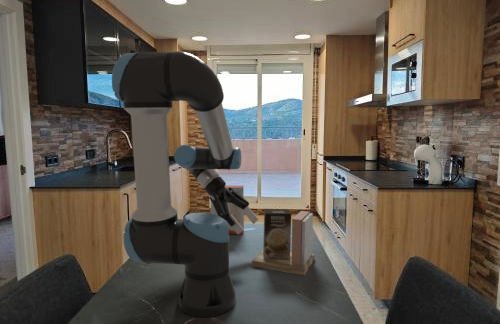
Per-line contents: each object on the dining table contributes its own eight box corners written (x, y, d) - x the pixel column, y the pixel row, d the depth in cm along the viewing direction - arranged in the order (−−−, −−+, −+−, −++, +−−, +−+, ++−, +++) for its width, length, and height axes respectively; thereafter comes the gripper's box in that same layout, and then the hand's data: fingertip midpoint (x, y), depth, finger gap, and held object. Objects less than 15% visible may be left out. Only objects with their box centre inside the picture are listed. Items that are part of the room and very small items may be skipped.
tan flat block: (300, 265, 108) (301, 219, 106) (291, 263, 109) (292, 218, 107) (308, 253, 118) (309, 211, 116) (300, 252, 119) (301, 210, 117)
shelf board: (304, 275, 106) (304, 269, 106) (252, 266, 113) (252, 260, 113) (314, 259, 119) (314, 253, 119) (266, 251, 126) (266, 246, 126)
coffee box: (263, 259, 113) (263, 213, 112) (263, 252, 120) (263, 208, 118) (290, 260, 113) (291, 213, 111) (289, 252, 119) (289, 208, 118)
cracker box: (244, 230, 151) (244, 185, 149) (242, 235, 145) (242, 187, 143) (213, 229, 153) (213, 184, 150) (210, 234, 147) (210, 186, 144)
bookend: (304, 267, 107) (305, 221, 106) (292, 265, 109) (292, 220, 107) (312, 255, 117) (312, 213, 116) (300, 253, 119) (301, 212, 117)
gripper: (221, 183, 137) (255, 223, 133) (186, 195, 114) (226, 243, 110) (233, 171, 134) (268, 211, 130) (199, 180, 111) (241, 230, 107)
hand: (249, 226), depth 120 cm, fingers open, 13 cm apart
